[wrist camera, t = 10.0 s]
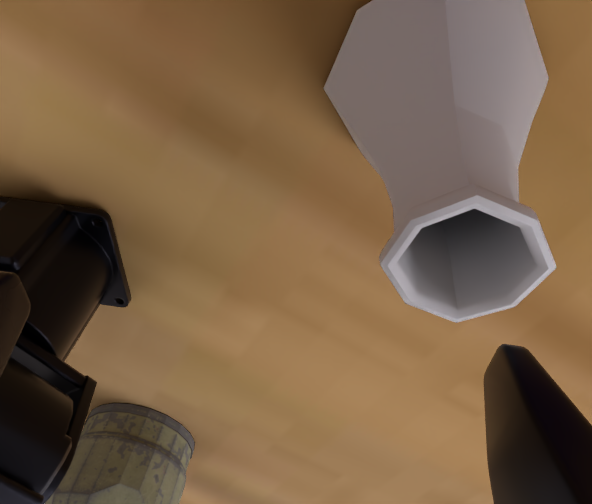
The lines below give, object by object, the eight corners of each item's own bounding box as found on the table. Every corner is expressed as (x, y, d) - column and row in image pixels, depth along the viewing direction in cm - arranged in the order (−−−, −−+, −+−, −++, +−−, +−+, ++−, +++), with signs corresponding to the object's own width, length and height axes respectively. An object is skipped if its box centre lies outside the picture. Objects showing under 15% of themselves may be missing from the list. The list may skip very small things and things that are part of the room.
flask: (444, -96, 14) (514, -22, 6) (587, 73, 16) (760, 272, 9) (290, 87, 18) (221, 262, 10) (421, 200, 20) (441, 409, 13)
